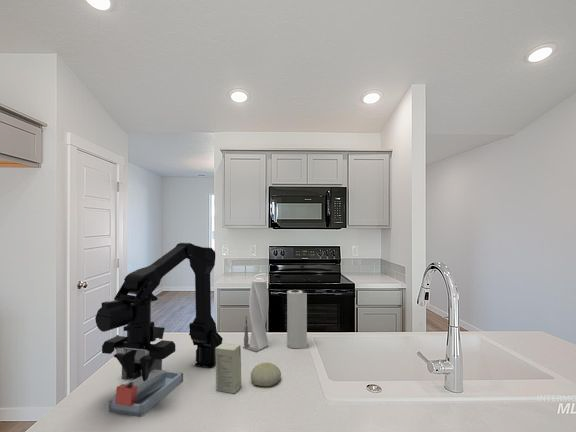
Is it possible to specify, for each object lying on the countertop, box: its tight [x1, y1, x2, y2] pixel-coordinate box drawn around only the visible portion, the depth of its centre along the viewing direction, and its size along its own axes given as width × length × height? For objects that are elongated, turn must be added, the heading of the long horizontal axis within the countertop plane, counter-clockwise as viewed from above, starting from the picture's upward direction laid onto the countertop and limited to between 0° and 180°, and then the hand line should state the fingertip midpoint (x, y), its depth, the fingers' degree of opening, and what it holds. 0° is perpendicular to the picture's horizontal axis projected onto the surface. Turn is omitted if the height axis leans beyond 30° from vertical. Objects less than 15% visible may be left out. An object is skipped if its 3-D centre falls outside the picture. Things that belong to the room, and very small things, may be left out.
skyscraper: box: [242, 273, 270, 353], centre depth 126 cm, size 8×8×28 cm
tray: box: [108, 369, 184, 417], centre depth 90 cm, size 10×19×2 cm, turn 166°
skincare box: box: [215, 342, 242, 394], centre depth 94 cm, size 6×4×12 cm
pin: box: [115, 369, 167, 406], centre depth 88 cm, size 4×15×4 cm, turn 167°
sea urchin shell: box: [250, 362, 282, 387], centre depth 98 cm, size 9×8×8 cm
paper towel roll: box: [286, 289, 308, 349], centre depth 126 cm, size 7×6×21 cm
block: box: [121, 351, 163, 381], centre depth 102 cm, size 8×8×6 cm
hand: (138, 379), depth 86 cm, fingers open, 4 cm apart
